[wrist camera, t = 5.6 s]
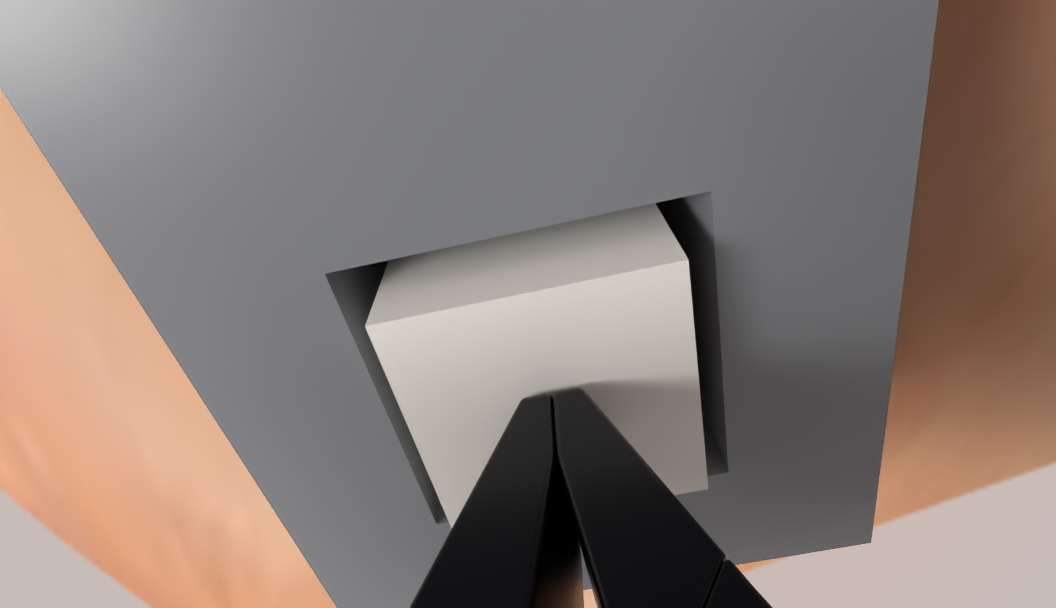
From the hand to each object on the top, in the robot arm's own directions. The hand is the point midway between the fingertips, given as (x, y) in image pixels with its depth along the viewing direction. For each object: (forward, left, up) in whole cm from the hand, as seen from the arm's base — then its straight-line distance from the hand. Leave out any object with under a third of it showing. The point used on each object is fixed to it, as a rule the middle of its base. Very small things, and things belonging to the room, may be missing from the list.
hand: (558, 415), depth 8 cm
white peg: (0, 0, -5) cm, 5 cm away
